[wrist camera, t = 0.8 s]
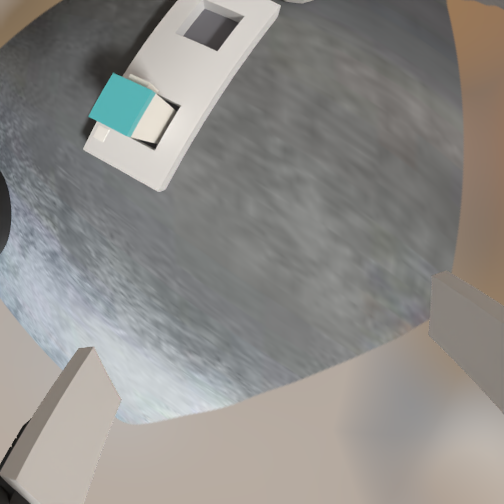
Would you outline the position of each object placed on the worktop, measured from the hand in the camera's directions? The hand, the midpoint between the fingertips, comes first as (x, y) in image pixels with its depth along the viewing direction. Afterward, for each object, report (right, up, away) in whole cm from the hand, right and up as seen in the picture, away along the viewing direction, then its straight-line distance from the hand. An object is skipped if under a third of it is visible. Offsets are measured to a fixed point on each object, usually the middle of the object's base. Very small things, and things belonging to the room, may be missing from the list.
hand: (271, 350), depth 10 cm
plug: (-11, +17, +19) cm, 28 cm away
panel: (-8, +23, +18) cm, 30 cm away
